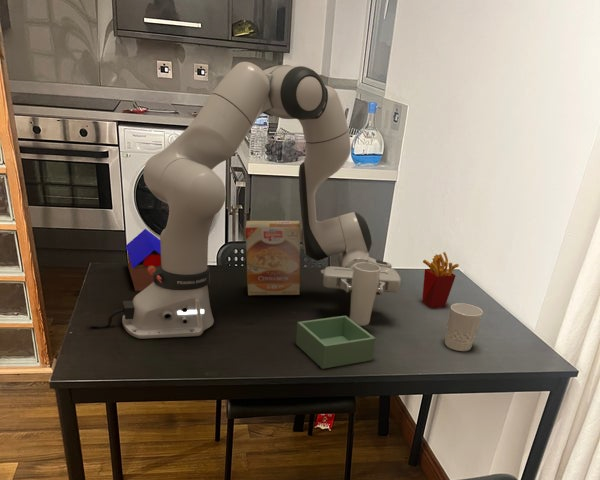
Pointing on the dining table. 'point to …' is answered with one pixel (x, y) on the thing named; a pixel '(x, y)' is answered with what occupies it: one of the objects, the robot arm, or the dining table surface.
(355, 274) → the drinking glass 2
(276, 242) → the coffeecake box
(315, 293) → the dining table surface
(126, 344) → the dining table surface
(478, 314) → the white cup
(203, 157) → the robot arm
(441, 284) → the french fries
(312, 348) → the tote
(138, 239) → the house
